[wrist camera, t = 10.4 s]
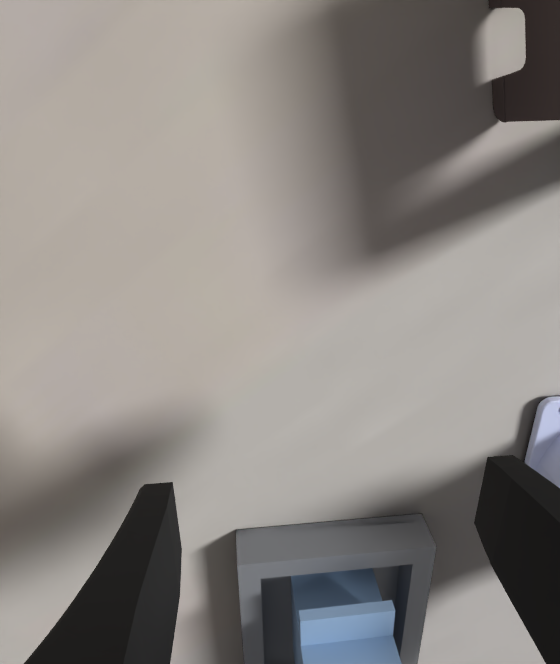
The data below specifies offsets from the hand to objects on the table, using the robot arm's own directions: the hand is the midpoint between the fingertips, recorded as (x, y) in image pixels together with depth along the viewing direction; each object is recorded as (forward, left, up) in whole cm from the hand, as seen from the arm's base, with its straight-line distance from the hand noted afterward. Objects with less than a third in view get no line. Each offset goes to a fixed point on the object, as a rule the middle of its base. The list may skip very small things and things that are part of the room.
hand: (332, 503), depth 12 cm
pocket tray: (-2, +16, -9) cm, 19 cm away
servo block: (-2, +16, -9) cm, 18 cm away
